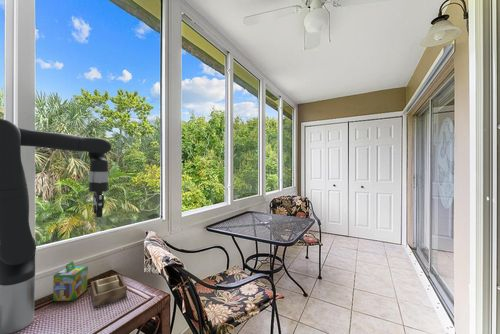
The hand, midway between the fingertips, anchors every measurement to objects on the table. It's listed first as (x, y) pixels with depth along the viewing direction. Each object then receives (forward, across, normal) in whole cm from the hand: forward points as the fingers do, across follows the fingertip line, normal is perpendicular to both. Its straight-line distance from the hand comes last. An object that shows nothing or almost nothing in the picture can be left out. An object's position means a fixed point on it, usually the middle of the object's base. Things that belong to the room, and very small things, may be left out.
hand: (97, 215), depth 103 cm
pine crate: (+35, +7, +4) cm, 36 cm away
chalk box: (+36, -3, -9) cm, 38 cm away
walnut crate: (+36, +7, +4) cm, 37 cm away
